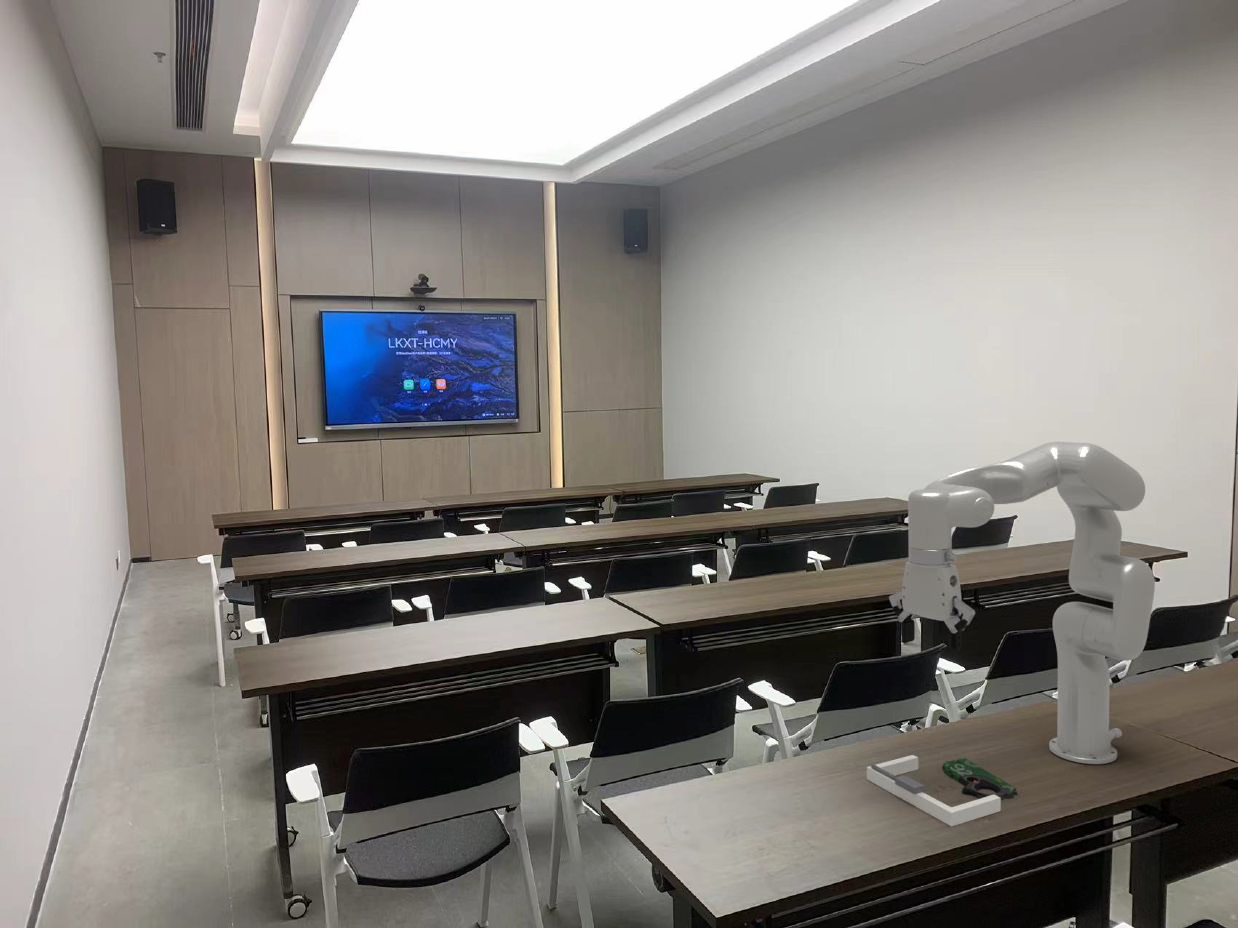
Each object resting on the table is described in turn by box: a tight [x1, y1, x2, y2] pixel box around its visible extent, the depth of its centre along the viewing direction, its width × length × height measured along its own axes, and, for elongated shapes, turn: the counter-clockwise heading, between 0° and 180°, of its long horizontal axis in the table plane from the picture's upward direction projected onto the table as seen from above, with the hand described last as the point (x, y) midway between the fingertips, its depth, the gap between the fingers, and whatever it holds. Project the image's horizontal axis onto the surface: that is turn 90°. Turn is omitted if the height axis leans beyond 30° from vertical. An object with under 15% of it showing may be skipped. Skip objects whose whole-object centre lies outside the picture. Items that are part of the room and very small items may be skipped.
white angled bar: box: [866, 754, 1002, 827], centre depth 169 cm, size 12×22×4 cm, turn 25°
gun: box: [942, 758, 1018, 801], centre depth 174 cm, size 16×2×10 cm
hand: (930, 647), depth 166 cm, fingers open, 9 cm apart
